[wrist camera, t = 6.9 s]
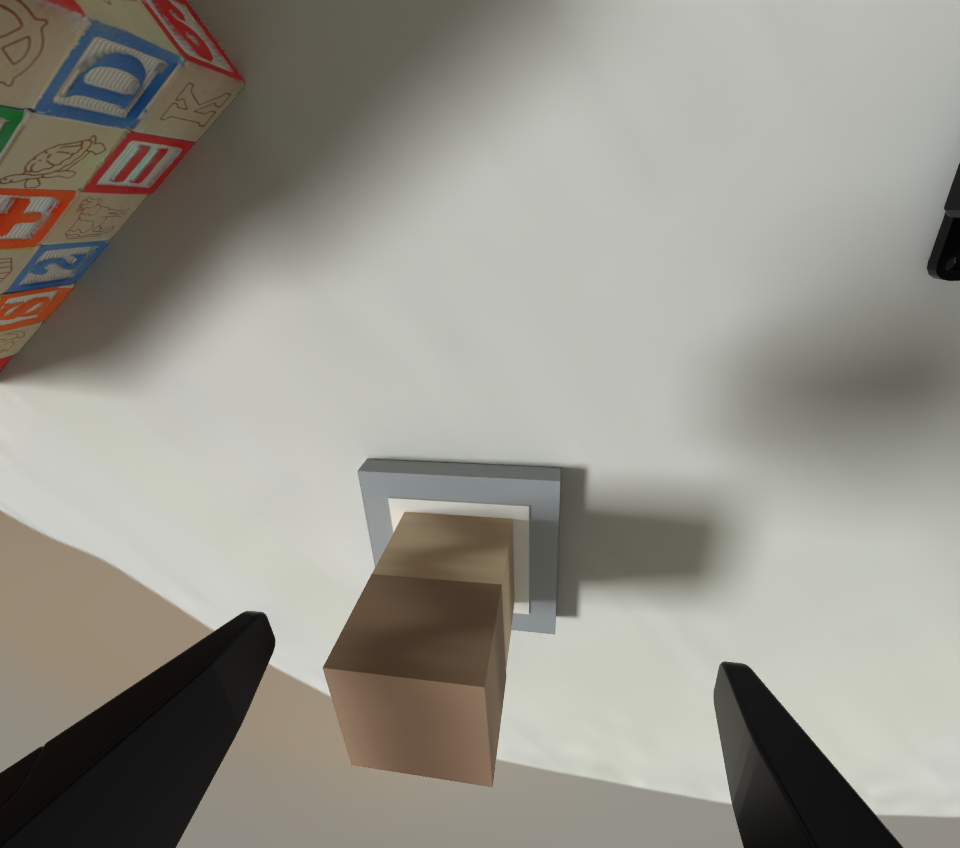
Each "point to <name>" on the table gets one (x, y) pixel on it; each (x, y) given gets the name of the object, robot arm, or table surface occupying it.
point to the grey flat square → (484, 495)
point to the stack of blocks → (90, 133)
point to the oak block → (454, 553)
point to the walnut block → (422, 678)
